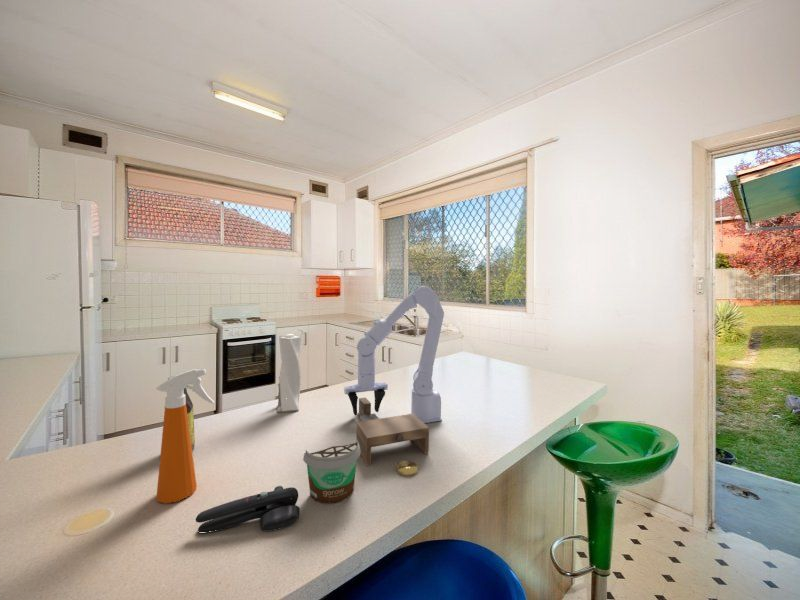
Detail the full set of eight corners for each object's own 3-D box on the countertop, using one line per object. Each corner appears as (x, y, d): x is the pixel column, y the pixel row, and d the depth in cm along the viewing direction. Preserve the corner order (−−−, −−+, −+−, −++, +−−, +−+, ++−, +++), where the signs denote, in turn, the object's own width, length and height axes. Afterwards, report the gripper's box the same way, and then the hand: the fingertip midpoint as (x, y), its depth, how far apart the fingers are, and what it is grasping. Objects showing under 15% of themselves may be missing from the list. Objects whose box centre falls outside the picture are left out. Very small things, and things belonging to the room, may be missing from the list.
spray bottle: (211, 497, 69) (209, 372, 68) (150, 507, 66) (147, 375, 65) (219, 478, 76) (218, 364, 74) (164, 486, 73) (161, 366, 71)
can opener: (300, 504, 68) (300, 477, 68) (299, 528, 61) (299, 499, 61) (202, 519, 63) (201, 490, 63) (190, 547, 56) (189, 515, 56)
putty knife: (369, 411, 117) (369, 397, 117) (392, 439, 96) (392, 422, 96) (355, 412, 115) (355, 398, 115) (375, 442, 95) (375, 424, 94)
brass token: (412, 464, 84) (412, 459, 84) (420, 474, 79) (421, 470, 79) (393, 467, 82) (393, 462, 82) (401, 478, 77) (401, 473, 77)
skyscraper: (302, 403, 123) (302, 328, 122) (303, 411, 115) (303, 331, 114) (277, 405, 120) (277, 328, 119) (277, 414, 113) (276, 332, 111)
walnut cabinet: (412, 437, 98) (413, 413, 97) (429, 454, 88) (430, 428, 87) (356, 447, 91) (356, 422, 91) (367, 467, 81) (368, 439, 81)
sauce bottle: (200, 448, 89) (199, 375, 88) (178, 459, 83) (176, 381, 82) (182, 444, 91) (181, 372, 90) (159, 455, 86) (157, 378, 84)
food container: (309, 515, 64) (309, 464, 64) (302, 496, 70) (303, 450, 69) (368, 497, 70) (369, 450, 70) (358, 481, 76) (358, 438, 75)
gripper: (382, 367, 118) (382, 405, 118) (342, 371, 112) (341, 411, 113) (390, 372, 111) (389, 412, 112) (347, 377, 106) (346, 419, 106)
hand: (366, 412), depth 112 cm, fingers open, 7 cm apart
